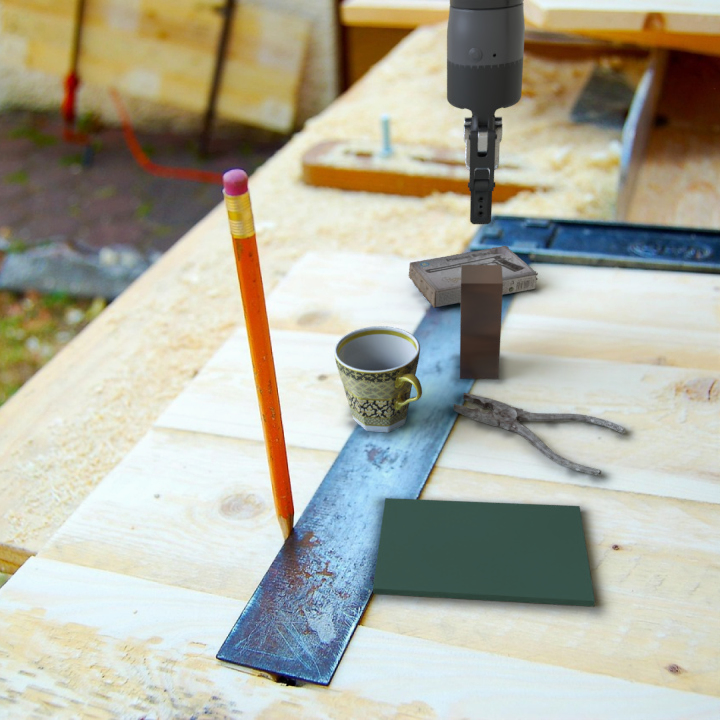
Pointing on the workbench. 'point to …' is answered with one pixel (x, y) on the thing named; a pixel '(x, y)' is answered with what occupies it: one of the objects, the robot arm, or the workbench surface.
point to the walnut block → (480, 321)
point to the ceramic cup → (379, 375)
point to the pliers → (511, 415)
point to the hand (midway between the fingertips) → (480, 207)
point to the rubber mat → (483, 552)
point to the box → (444, 274)
